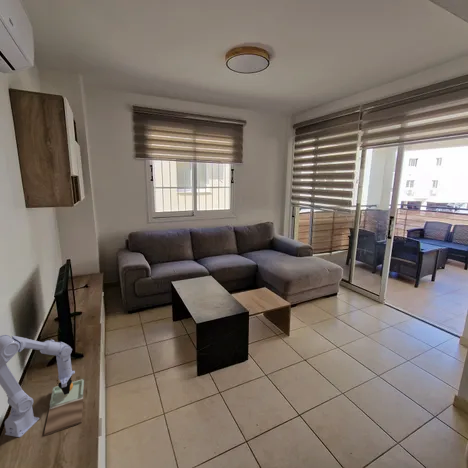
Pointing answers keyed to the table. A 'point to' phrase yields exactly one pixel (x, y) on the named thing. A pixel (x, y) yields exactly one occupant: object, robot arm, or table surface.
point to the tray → (74, 394)
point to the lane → (64, 416)
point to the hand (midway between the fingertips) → (67, 389)
